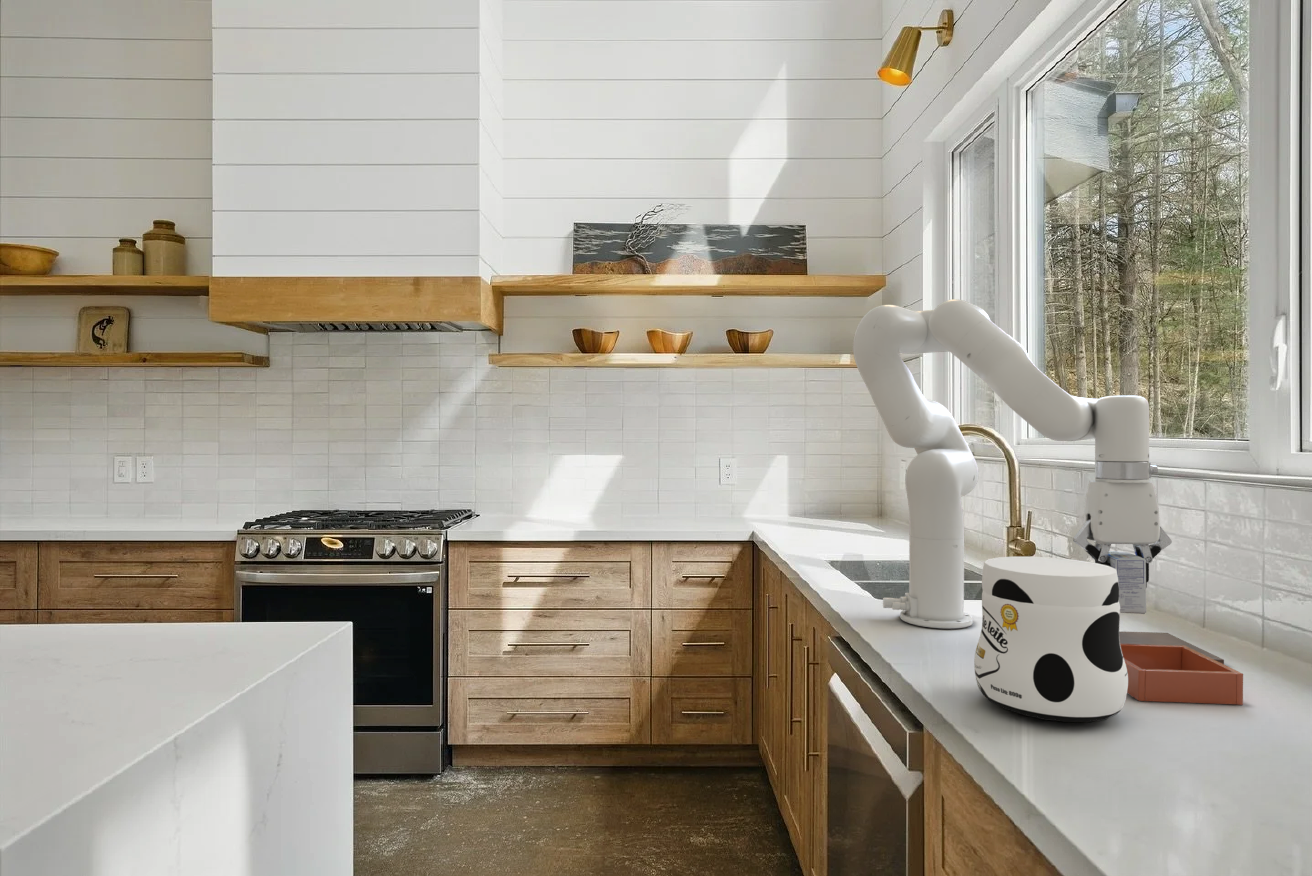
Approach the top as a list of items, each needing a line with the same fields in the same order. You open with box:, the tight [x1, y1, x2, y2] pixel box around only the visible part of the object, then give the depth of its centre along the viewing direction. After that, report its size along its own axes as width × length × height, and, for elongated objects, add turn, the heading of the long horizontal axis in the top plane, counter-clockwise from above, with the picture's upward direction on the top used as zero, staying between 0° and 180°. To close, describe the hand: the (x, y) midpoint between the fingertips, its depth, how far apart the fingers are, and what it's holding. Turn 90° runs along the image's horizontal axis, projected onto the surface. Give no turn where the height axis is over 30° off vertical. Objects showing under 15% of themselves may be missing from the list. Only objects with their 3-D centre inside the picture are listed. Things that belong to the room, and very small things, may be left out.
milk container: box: [973, 555, 1128, 723], centre depth 100 cm, size 17×17×18 cm
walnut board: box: [1119, 630, 1225, 665], centre depth 127 cm, size 22×16×1 cm
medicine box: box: [1107, 550, 1147, 615], centre depth 127 cm, size 8×4×9 cm, turn 169°
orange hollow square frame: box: [1120, 644, 1244, 706], centre depth 109 cm, size 13×14×4 cm
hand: (1121, 585), depth 127 cm, fingers closed on medicine box, 4 cm apart
